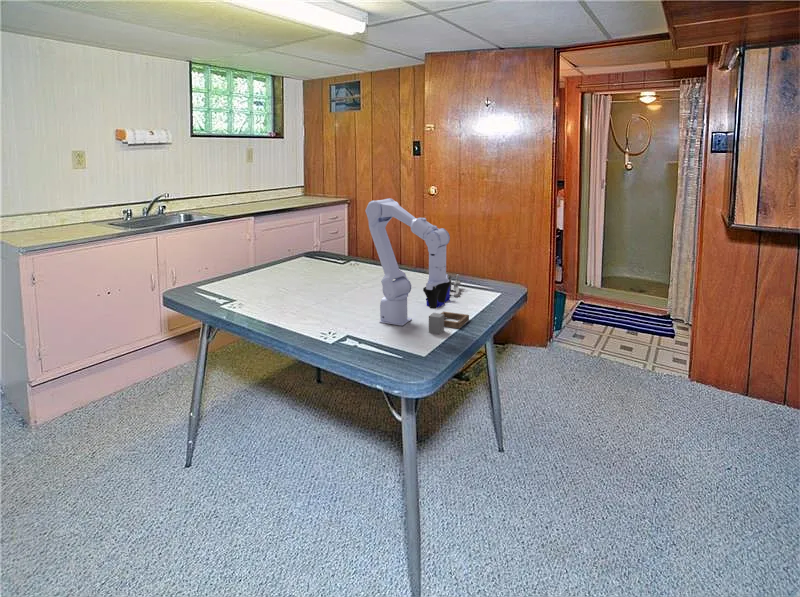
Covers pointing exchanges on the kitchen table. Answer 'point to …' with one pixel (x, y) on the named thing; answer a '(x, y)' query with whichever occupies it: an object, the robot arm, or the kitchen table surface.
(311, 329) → the kitchen table surface
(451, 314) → the brown square frame
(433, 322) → the grey block
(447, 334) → the kitchen table surface
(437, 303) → the cable clip
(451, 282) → the bike brake
